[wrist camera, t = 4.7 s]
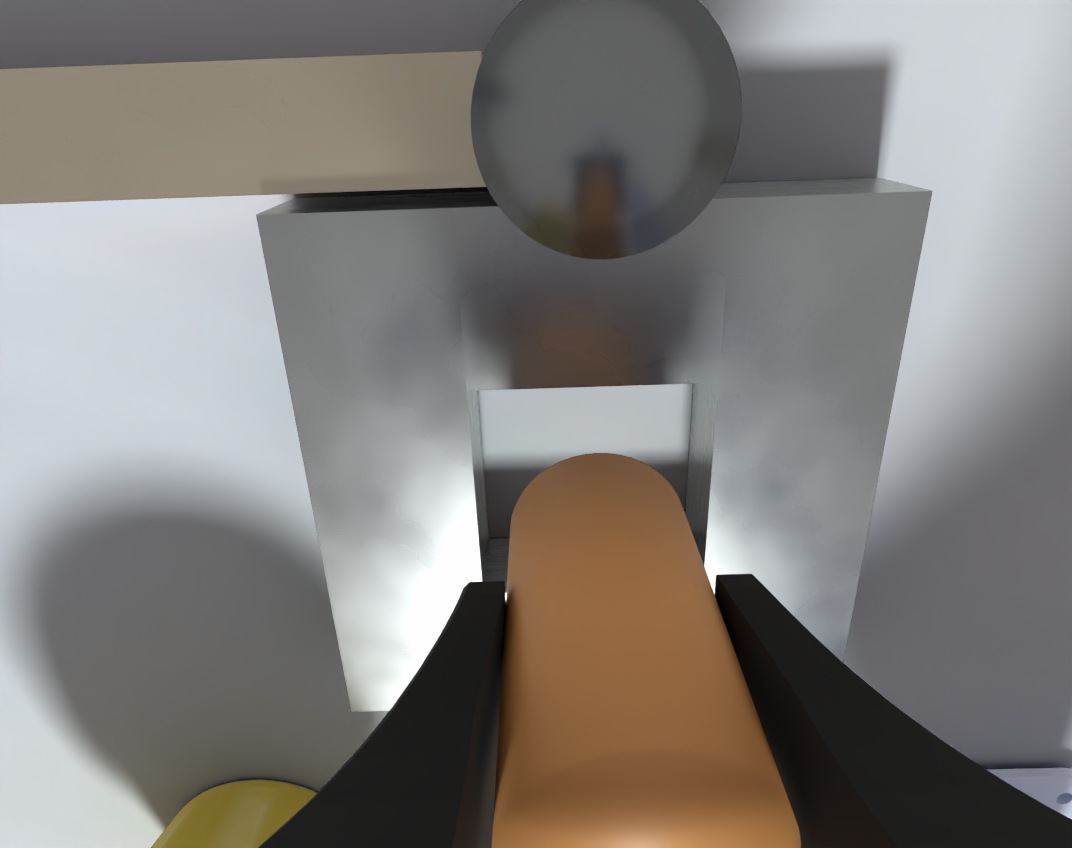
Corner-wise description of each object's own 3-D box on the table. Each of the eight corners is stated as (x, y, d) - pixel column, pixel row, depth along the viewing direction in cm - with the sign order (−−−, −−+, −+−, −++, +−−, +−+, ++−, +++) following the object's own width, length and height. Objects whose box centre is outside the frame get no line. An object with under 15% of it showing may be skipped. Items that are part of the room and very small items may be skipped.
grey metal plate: (805, 637, 21) (882, 792, 17) (122, 655, 22) (6, 812, 17) (906, -6, 14) (1087, -55, 10) (-100, 34, 15) (-402, 5, 10)
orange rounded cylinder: (682, 597, 15) (787, 949, 9) (515, 605, 16) (503, 958, 9) (688, 448, 14) (817, 742, 8) (503, 457, 14) (478, 756, 8)
